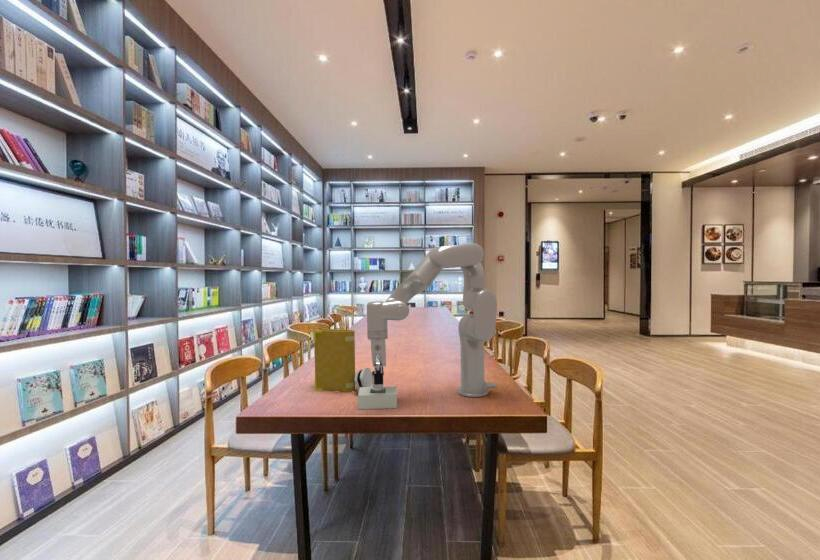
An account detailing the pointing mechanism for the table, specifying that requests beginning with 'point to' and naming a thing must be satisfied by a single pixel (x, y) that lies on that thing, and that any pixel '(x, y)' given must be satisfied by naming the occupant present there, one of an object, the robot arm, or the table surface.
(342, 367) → the book
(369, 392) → the socket block
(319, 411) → the table surface
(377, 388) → the pin
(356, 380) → the hinge
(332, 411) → the table surface
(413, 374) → the table surface
